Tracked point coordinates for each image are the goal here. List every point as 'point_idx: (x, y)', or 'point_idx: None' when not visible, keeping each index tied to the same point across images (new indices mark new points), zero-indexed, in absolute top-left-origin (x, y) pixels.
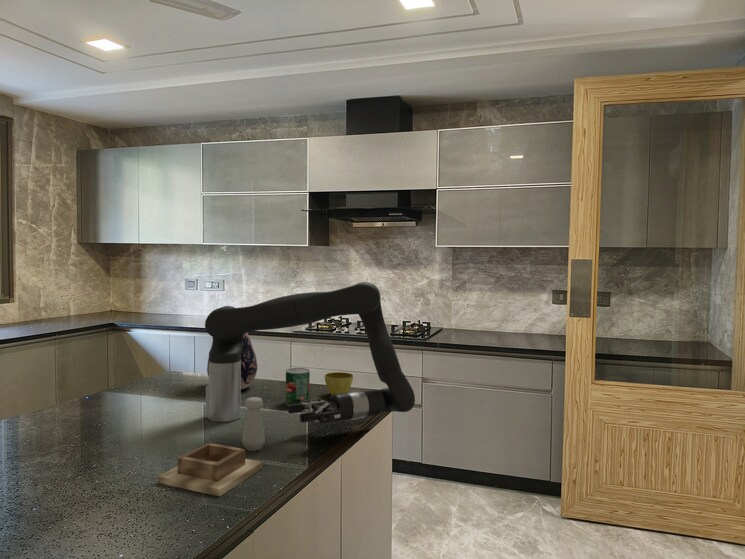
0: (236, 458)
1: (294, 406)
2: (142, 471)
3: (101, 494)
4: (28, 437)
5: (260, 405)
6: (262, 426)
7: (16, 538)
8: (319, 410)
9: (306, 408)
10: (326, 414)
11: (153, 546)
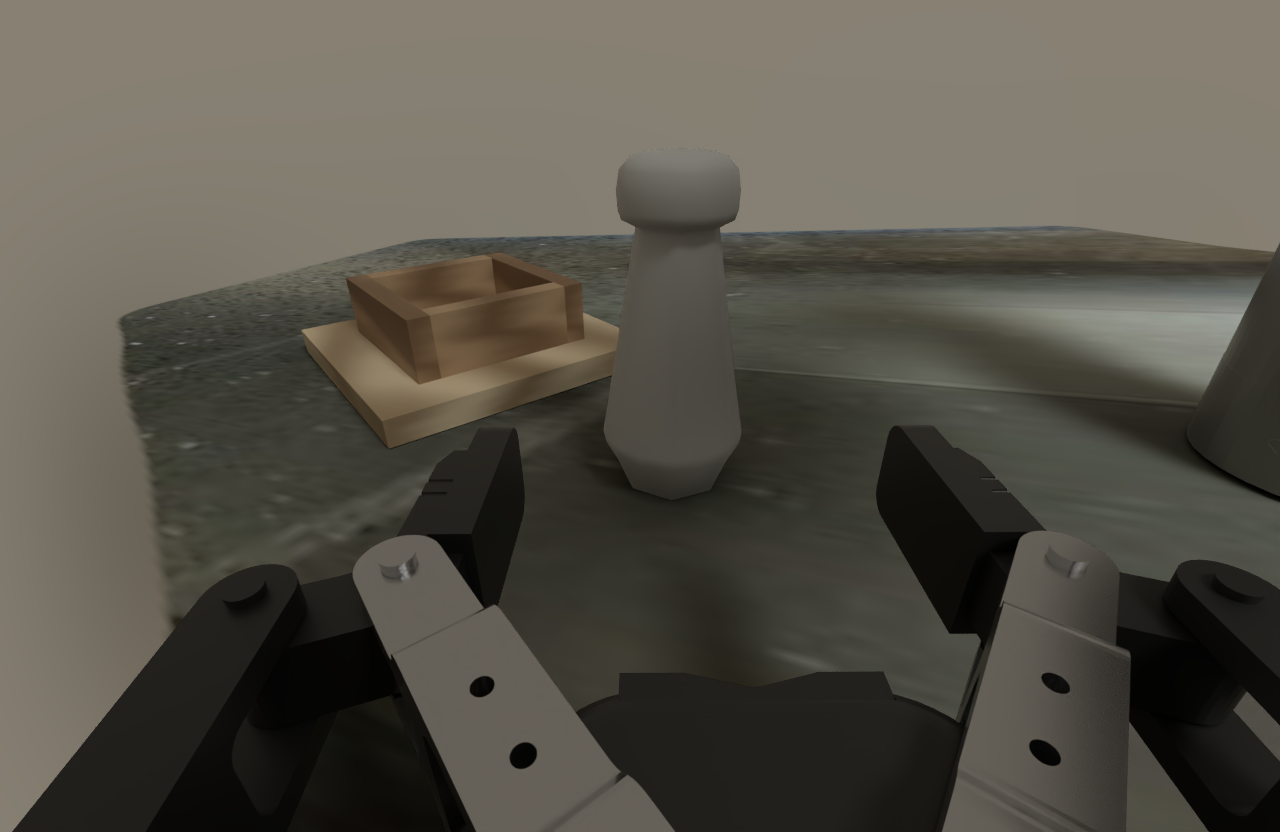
0: (386, 320)
1: (920, 475)
2: (622, 296)
3: None
4: (935, 236)
5: (625, 204)
6: (641, 368)
7: (452, 240)
8: (439, 622)
9: (1172, 755)
10: (161, 674)
11: (236, 290)
